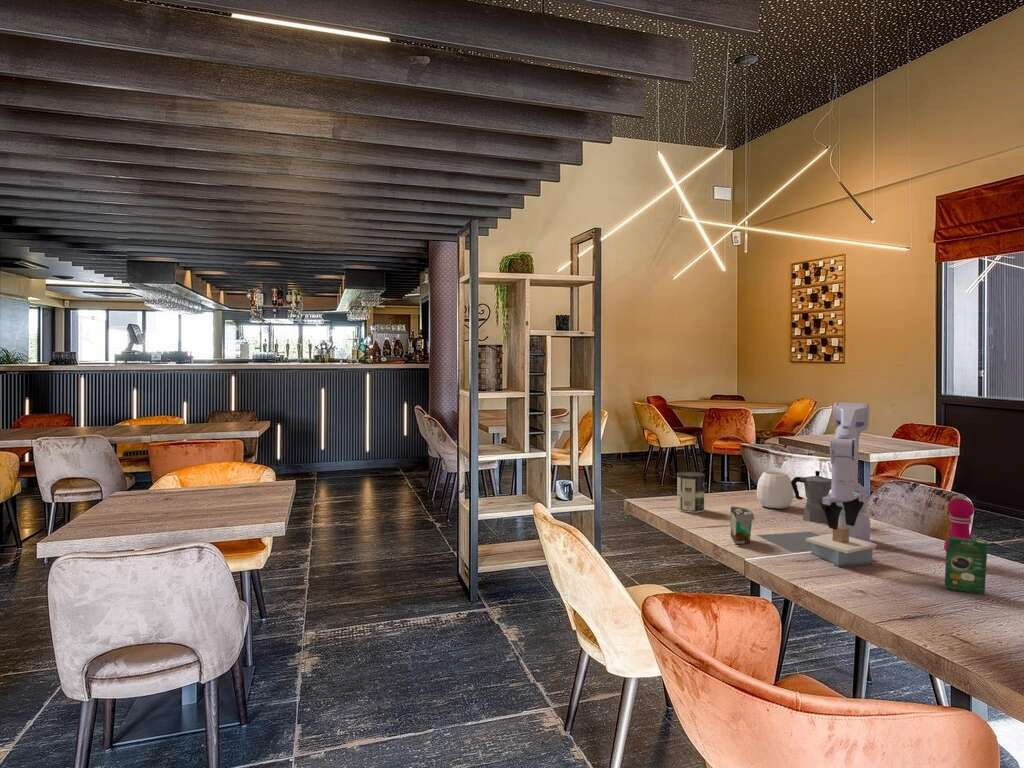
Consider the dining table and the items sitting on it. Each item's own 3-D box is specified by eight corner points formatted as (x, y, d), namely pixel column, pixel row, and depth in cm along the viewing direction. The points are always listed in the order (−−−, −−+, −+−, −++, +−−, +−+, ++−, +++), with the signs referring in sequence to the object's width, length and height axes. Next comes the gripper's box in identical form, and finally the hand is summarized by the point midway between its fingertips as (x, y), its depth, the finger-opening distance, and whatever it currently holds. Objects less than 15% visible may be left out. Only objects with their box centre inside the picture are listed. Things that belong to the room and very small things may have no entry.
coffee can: (699, 506, 240) (700, 471, 240) (707, 513, 230) (708, 476, 230) (673, 506, 241) (673, 471, 240) (680, 513, 230) (680, 476, 230)
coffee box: (983, 591, 152) (985, 539, 152) (986, 595, 150) (988, 542, 149) (944, 586, 156) (945, 535, 155) (946, 589, 153) (947, 538, 153)
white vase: (775, 512, 232) (776, 477, 231) (749, 504, 244) (749, 471, 243) (800, 509, 237) (801, 474, 237) (773, 501, 249) (774, 469, 249)
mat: (810, 532, 204) (810, 531, 204) (850, 549, 186) (850, 547, 186) (756, 536, 200) (756, 535, 200) (792, 553, 182) (792, 551, 182)
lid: (834, 535, 185) (834, 519, 185) (876, 547, 174) (877, 530, 173) (805, 540, 179) (805, 524, 179) (847, 553, 168) (847, 536, 168)
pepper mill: (966, 569, 168) (968, 497, 167) (938, 562, 174) (940, 492, 174) (980, 565, 171) (982, 495, 170) (952, 558, 178) (954, 490, 177)
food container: (757, 548, 187) (757, 516, 186) (736, 547, 188) (736, 515, 188) (749, 537, 199) (750, 506, 199) (730, 536, 200) (730, 506, 200)
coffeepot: (832, 518, 223) (833, 469, 223) (840, 524, 214) (842, 473, 213) (787, 516, 226) (788, 467, 225) (793, 522, 217) (794, 472, 216)
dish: (843, 552, 183) (843, 537, 183) (872, 564, 172) (872, 548, 172) (811, 554, 181) (811, 539, 181) (838, 567, 170) (838, 551, 170)
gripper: (846, 475, 182) (845, 520, 183) (813, 479, 176) (812, 526, 177) (868, 479, 176) (867, 526, 177) (835, 484, 170) (834, 532, 170)
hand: (841, 526), depth 176 cm, fingers open, 7 cm apart
